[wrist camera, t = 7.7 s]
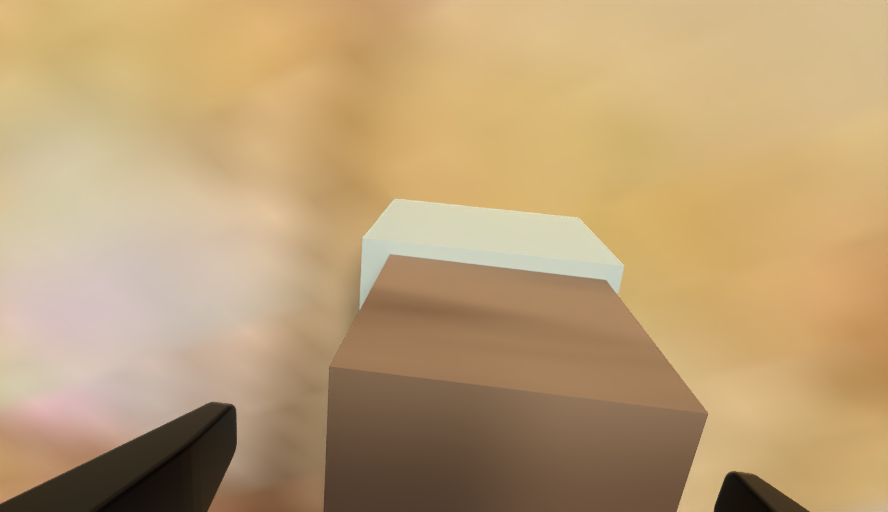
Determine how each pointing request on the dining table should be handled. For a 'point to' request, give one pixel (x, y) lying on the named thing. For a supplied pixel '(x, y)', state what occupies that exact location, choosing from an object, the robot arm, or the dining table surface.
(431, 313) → the walnut block
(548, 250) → the sage block
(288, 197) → the dining table surface
